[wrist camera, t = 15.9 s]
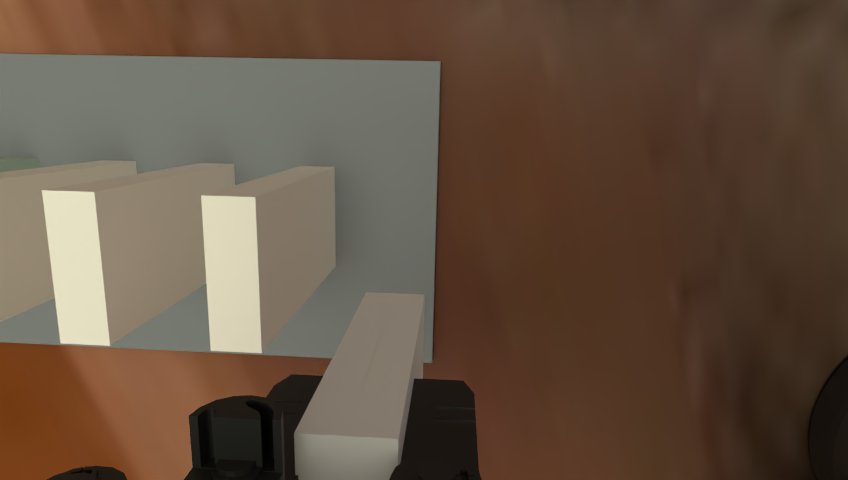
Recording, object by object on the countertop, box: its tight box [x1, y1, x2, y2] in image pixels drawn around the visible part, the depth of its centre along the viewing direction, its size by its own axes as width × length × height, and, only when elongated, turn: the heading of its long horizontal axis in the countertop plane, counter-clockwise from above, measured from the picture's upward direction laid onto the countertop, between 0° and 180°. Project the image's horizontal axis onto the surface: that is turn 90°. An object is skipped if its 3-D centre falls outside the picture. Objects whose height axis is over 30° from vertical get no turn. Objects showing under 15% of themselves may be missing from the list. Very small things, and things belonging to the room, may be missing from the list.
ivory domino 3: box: [201, 166, 336, 353], centre depth 27 cm, size 6×2×13 cm, turn 179°
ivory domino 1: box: [0, 160, 137, 322], centre depth 28 cm, size 6×2×13 cm, turn 179°
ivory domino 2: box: [42, 163, 235, 346], centre depth 28 cm, size 6×2×13 cm, turn 179°
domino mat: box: [0, 54, 441, 363], centre depth 35 cm, size 18×38×1 cm, turn 89°
